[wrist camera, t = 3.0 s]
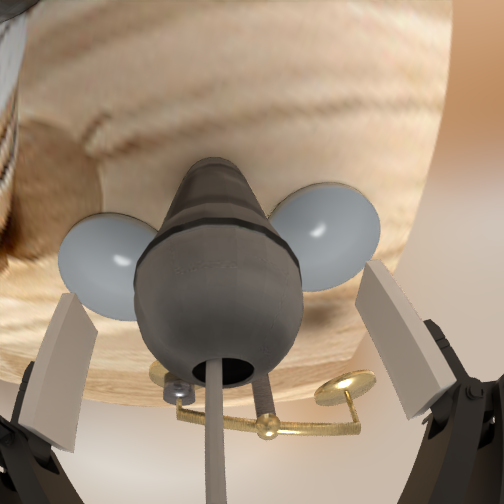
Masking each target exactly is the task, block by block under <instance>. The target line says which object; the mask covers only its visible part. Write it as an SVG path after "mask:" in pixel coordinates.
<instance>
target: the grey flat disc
mask: <svg viewBox="0 0 504 504" xmlns="http://www.w3.org/2000/svg"><path fill="white" fill-rule="evenodd" d="M157 233H158V232H157V231H156V230H155V229H153V228H152V227H151V226H149V225H147V224H146V223H144V222H142V221H140V220H138V219H135V218H133V217H130V216H126V215H122V214H115V213H103V214H96V215H92V216H89V217H87V218H84V219H83V220H81V221H79V222H78V223H77V224H76V225H74V226H73V227H72V229H71V230H70V231H69V232H68V234H67V235H66V237H65V238H64V240H63V242H62V244H61V246H60V249H59V254H58V266H59V271H60V275H61V277H62V280H63V282H64V284H65V285H66V287H67V289H68V290H69V291H70V293H76V295H77V297H78V299H79V301H80V302H81V304H83V305H84V306H85V307H87V308H88V309H90V310H92V311H93V312H95V313H97V314H100V315H102V316H105V317H107V318H111V319H115V320H120V321H137V319H136V315H135V311H134V294H135V292H134V287H133V280H134V274H135V269H136V263H137V261H138V259H139V258H140V256H141V255H142V253H143V252H144V250H145V249H146V247H147V246H148V244H149V243H150V242H151V241H152V240H153V239H154V237H155V236H156V234H157Z"/></svg>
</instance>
